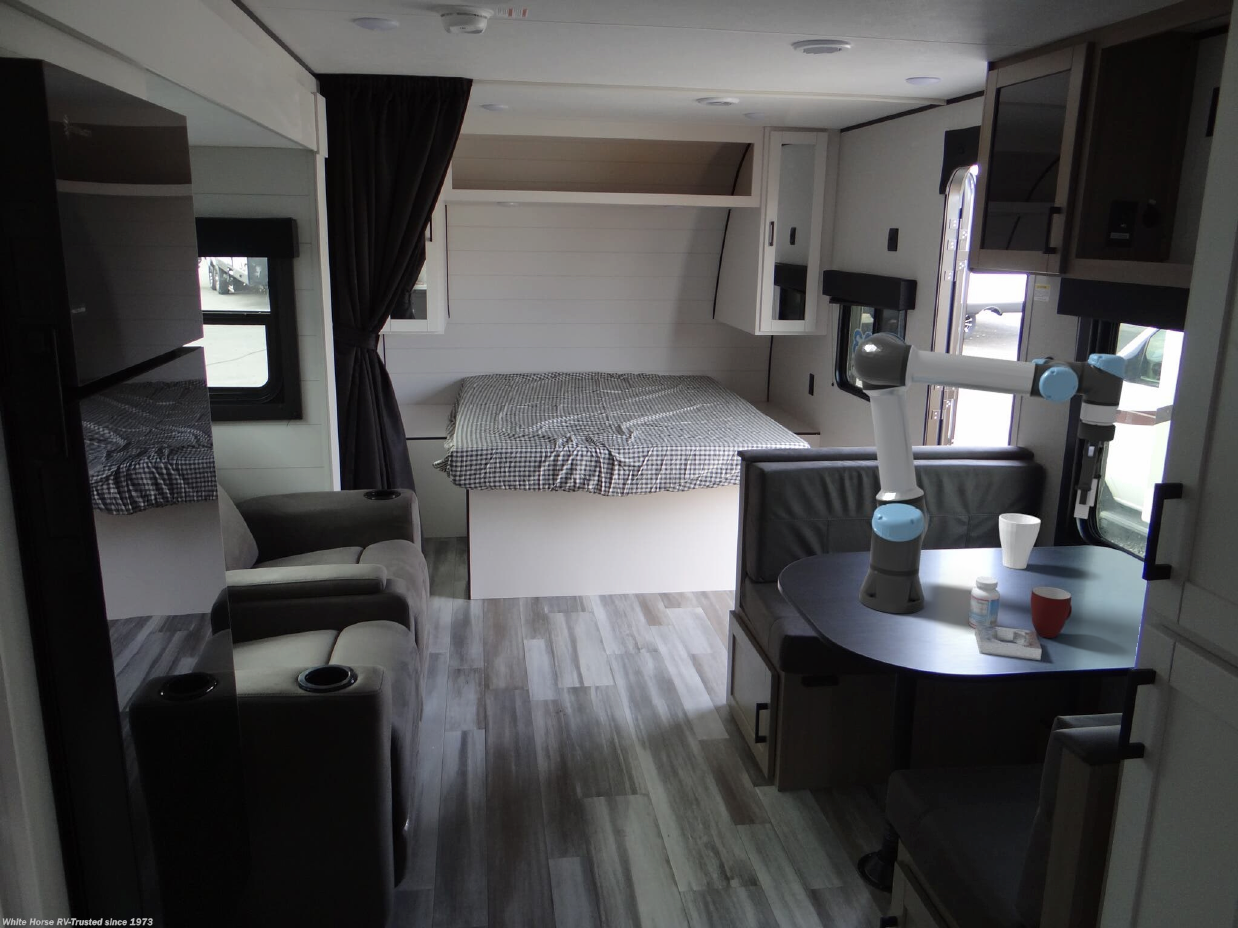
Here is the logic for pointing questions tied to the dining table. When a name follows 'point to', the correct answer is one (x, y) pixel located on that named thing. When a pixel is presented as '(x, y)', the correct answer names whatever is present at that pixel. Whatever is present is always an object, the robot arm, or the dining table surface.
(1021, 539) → the cup
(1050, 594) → the mug
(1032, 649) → the block
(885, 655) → the dining table surface
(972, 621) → the pill bottle
